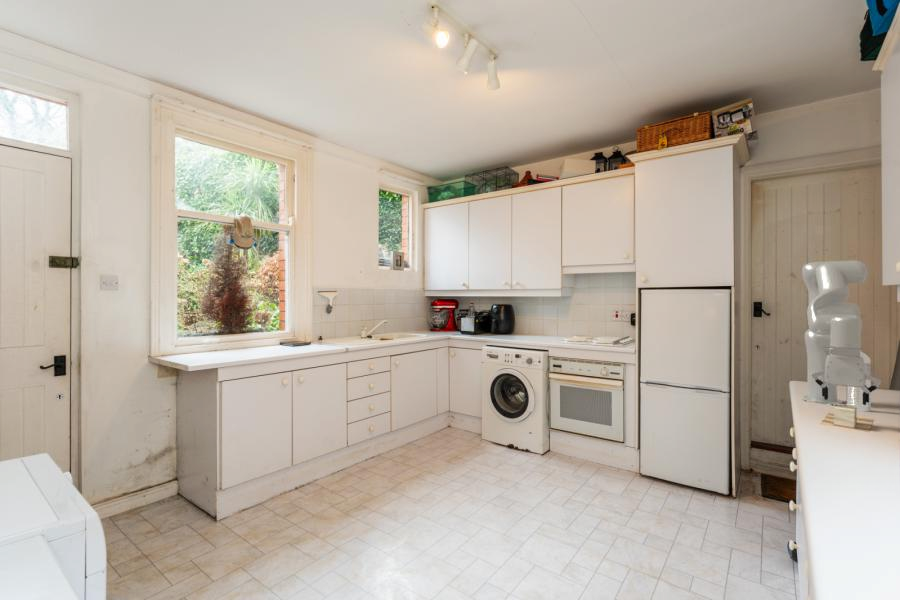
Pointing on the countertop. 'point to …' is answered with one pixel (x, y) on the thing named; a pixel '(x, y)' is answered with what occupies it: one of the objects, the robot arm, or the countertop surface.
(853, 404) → the water bottle
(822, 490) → the countertop surface
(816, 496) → the countertop surface
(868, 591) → the countertop surface
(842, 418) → the block
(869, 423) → the oak board
